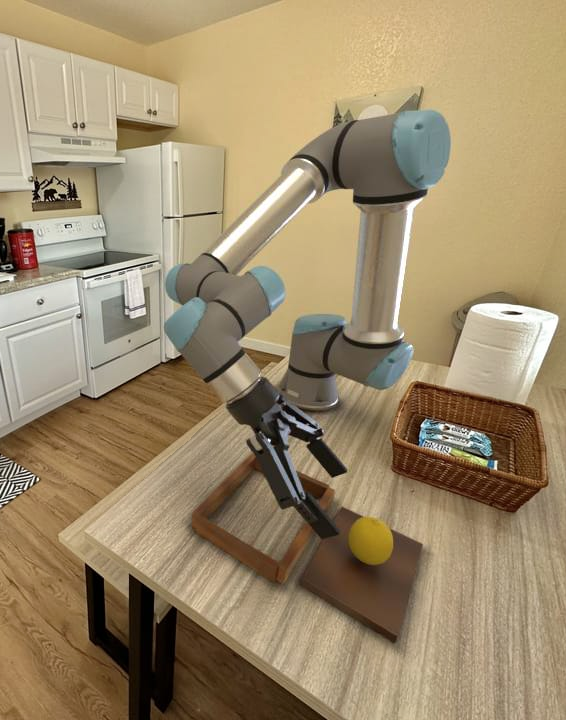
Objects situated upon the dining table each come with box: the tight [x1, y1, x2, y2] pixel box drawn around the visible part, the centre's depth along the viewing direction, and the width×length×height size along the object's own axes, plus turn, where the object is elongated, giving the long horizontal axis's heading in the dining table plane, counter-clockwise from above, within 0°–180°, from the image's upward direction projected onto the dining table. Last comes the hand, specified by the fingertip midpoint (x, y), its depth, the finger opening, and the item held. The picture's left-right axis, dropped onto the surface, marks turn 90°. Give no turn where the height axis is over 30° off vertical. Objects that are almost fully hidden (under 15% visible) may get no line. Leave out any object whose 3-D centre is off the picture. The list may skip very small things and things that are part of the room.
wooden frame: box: [191, 452, 336, 586], centre depth 67 cm, size 22×16×3 cm
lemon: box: [348, 516, 393, 565], centre depth 56 cm, size 6×6×8 cm
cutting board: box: [300, 506, 424, 644], centre depth 58 cm, size 18×12×2 cm, turn 138°
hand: (335, 501), depth 56 cm, fingers open, 13 cm apart
